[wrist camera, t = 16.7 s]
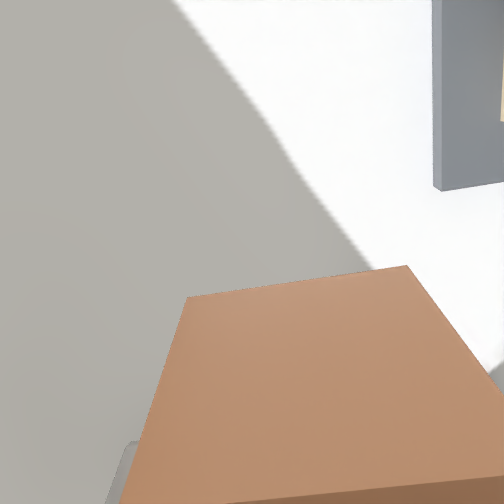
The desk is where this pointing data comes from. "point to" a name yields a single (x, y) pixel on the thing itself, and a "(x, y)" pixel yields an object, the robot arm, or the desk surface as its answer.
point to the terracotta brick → (321, 401)
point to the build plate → (468, 93)
